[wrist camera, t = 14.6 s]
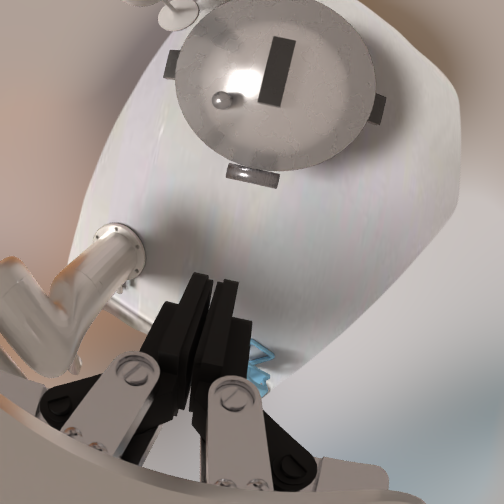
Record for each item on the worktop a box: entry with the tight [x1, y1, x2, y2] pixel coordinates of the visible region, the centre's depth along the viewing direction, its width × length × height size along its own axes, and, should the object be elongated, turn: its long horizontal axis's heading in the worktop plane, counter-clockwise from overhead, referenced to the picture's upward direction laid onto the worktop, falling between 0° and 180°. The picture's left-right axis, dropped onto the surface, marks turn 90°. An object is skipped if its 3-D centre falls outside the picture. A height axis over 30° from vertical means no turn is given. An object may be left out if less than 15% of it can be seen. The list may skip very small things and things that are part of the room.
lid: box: [175, 0, 376, 189], centre depth 26 cm, size 25×23×4 cm
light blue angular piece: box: [247, 339, 275, 397], centre depth 57 cm, size 8×8×12 cm
